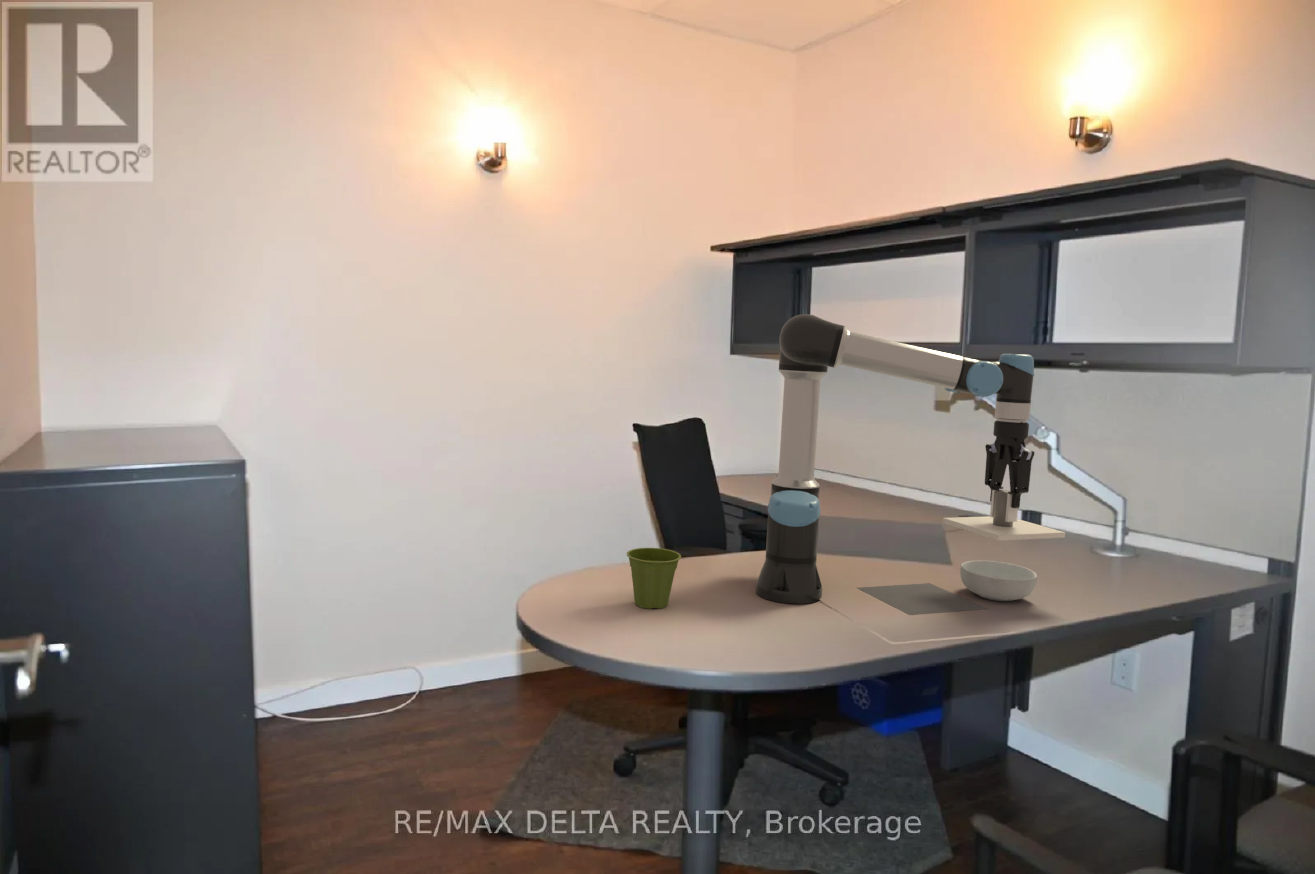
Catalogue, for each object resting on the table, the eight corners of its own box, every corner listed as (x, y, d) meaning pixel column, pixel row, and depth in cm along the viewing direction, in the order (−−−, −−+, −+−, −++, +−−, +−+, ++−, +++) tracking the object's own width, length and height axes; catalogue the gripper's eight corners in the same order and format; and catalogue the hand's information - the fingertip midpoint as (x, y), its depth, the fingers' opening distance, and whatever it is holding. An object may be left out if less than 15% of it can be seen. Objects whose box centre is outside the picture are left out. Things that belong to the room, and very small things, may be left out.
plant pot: (620, 610, 182) (622, 558, 181) (629, 594, 194) (631, 545, 192) (675, 615, 180) (678, 562, 179) (681, 599, 192) (684, 549, 191)
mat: (909, 616, 186) (909, 614, 186) (856, 589, 206) (856, 587, 206) (988, 611, 194) (988, 608, 193) (929, 585, 213) (929, 583, 213)
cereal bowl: (945, 595, 205) (948, 566, 204) (976, 584, 217) (979, 556, 216) (1017, 613, 193) (1020, 582, 192) (1045, 600, 205) (1048, 571, 204)
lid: (998, 540, 191) (1001, 499, 190) (942, 522, 209) (945, 485, 208) (1065, 537, 197) (1068, 498, 196) (1006, 520, 215) (1009, 484, 214)
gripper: (1053, 424, 193) (1043, 526, 196) (998, 417, 210) (990, 511, 212) (1026, 424, 191) (1017, 527, 193) (973, 416, 207) (965, 512, 210)
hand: (1003, 518), depth 203 cm, fingers closed on lid, 4 cm apart
